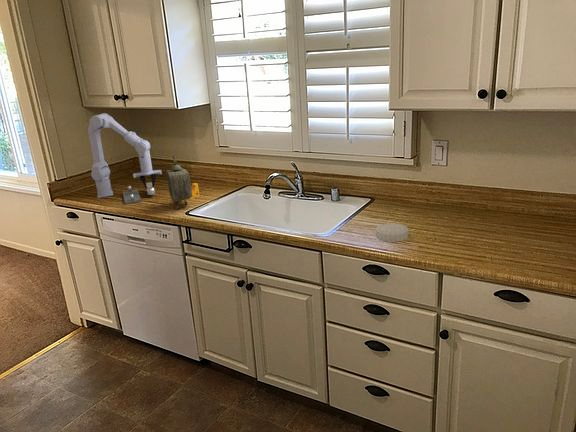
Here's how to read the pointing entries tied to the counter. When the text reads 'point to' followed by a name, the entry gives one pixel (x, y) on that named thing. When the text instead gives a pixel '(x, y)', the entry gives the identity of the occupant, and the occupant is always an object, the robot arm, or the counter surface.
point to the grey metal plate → (131, 196)
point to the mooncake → (391, 232)
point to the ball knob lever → (150, 189)
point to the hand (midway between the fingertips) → (149, 188)
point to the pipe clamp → (194, 191)
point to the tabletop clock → (179, 183)
